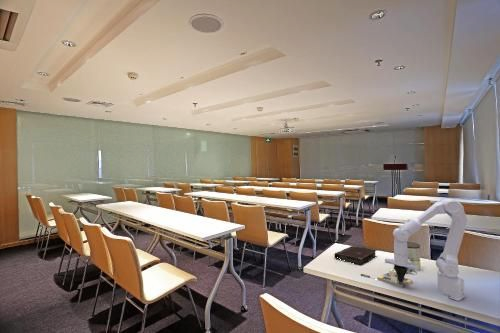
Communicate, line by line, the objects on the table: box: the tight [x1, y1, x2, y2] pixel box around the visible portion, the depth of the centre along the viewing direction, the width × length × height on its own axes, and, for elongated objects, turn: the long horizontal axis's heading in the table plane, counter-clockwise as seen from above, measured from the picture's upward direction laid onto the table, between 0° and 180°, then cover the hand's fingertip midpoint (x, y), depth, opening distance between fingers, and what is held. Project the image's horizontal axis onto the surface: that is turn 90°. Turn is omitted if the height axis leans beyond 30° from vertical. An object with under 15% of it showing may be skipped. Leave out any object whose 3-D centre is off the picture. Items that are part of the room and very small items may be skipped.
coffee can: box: [407, 241, 422, 272], centre depth 152 cm, size 10×10×14 cm
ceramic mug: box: [393, 259, 418, 276], centre depth 145 cm, size 11×8×8 cm
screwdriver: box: [360, 273, 379, 281], centre depth 136 cm, size 10×2×2 cm, turn 45°
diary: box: [333, 245, 378, 267], centre depth 171 cm, size 19×25×5 cm
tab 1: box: [388, 268, 397, 277], centre depth 135 cm, size 3×3×5 cm
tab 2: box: [391, 274, 400, 284], centre depth 129 cm, size 3×3×5 cm
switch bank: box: [377, 272, 413, 289], centre depth 132 cm, size 12×11×2 cm
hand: (401, 281), depth 126 cm, fingers closed
